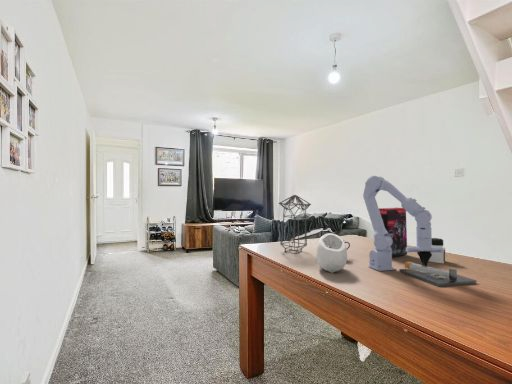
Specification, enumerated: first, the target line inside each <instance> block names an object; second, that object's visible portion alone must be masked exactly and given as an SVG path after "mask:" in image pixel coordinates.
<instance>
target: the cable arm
mask: <svg viewBox="0 0 512 384" xmlns="http://www.w3.org/2000/svg"><path fill="white" fill-rule="evenodd" d="M433 267H434V266H428V265H427V266H424V265H422V264H419V263H415V262H412V261H405V262H404V269H415V270H419V271H423V272H427V273H431V274H435V275H440V276H444V277H448V278H449V279H450V280H453V281H457V275H458V274H457V273H458V272H457V269H455V268H449V269H448V270H447V269H446V270H445V269H441V268H438V269H437V267H434V268H433Z"/></svg>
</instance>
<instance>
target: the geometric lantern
mask: <svg viewBox="0 0 512 384" xmlns="http://www.w3.org/2000/svg"><path fill="white" fill-rule="evenodd" d="M295 201H296V203H295ZM303 201H304V202H303ZM278 204H279V205H280V206H281V207H282V208H283V212H282V213H283V214H282V216H283V217H282V226H281V235H280V244H279V245H280V246H281V247H282V248H284V253H287V254H292V252H289V251H294V252H293V254H295V255H296V254H300V253H301V252H303V249H304V248H305V247H307V246H308V239H307V238H308V237H307V235H308V234H307V218H306V217H307V213H306V212H307V211H306V210H307V209H308V208H309V207H310V206H311V205H312V203H310V202H308V201H307V200H306V199H303V198H302V197H300V196H298V195H297V194H292V195H291V196H289V197H287V198H286V199H284V200H282V201H281V202H278ZM294 208H297V210H296V211H295V212H293V211H292V210H293V209H294ZM298 210H301V211H300V212H299V214H298V215H297V216H296V214H297V212H298ZM287 212H288V213H290V214H289V215H286V213H287ZM302 212H303V215H301V214H302ZM288 217H289V218H290V221H289V222H290V223H289V225H290V226H289V235H288V241H285V242H283V240H284V239H283V238H284V225H285V218H288ZM302 218H304V242H300V235H299V234H300V232H299V231H300V229H299V228H300V225H299V222H300V221H299V220H300V219H302ZM292 219H297V241H296V221H293V222H292ZM292 223H293V226H292ZM291 228H292V231H291ZM291 232H292V241H290V240H291ZM295 244H298V245H297V246H296V245H295Z"/></svg>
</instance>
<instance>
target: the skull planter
mask: <svg viewBox="0 0 512 384" xmlns="http://www.w3.org/2000/svg"><path fill="white" fill-rule="evenodd" d="M343 240H344V239H343V238H342V237H340V235H338V234H336V233H332V232H330V233H329V232H328V233H324V234H323V235H322V236H320V238H319V239H318V242H317V246H316V253H315V254H316V259H315V260H316V263H317V265H318V266H319V267H320V268H322V269H323V270H325V271H326V272H329V273H331V274H333V273H335V272H339V271H341V270H343V269H344V267H346V264H347V261H348V252H347V251H348V249H347V248H348V247H347V246H346V243H344V242H345V240H344V241H343ZM335 245H336V246H335ZM330 246H331V248H330Z"/></svg>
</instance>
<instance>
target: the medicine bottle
mask: <svg viewBox="0 0 512 384" xmlns="http://www.w3.org/2000/svg"><path fill="white" fill-rule="evenodd" d="M432 247H438V248H443V253H440V252H430V253H432V256H431V257H430V259H429V261H428V263H429V262H430V263H436V264H445V262H446V248H445V247H444V239H442V238H437V237H432Z"/></svg>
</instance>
